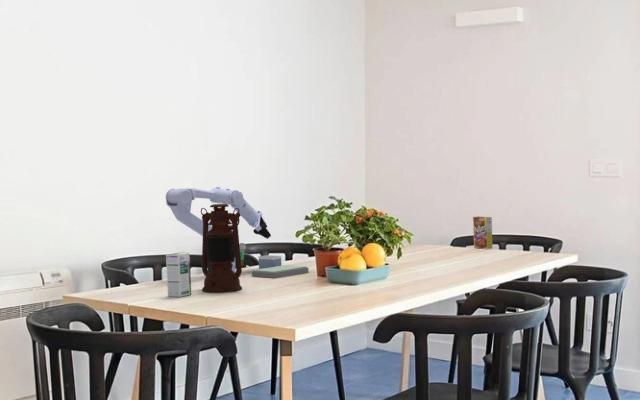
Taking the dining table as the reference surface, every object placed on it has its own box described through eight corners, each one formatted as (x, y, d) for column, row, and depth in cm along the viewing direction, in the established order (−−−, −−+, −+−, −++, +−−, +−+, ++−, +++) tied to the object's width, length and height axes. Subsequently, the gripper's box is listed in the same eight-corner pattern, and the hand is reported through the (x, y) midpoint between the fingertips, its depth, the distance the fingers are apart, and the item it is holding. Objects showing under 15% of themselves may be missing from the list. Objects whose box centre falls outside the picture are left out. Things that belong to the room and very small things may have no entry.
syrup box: (180, 297, 299) (179, 253, 298) (167, 296, 302) (165, 253, 301) (191, 295, 304) (190, 252, 303) (178, 294, 307) (176, 251, 306)
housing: (273, 272, 363) (272, 257, 363) (258, 271, 368) (258, 256, 368) (281, 270, 367) (281, 256, 367) (267, 269, 372) (266, 255, 372)
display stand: (274, 278, 342) (274, 271, 341) (251, 276, 349) (251, 270, 349) (308, 272, 357) (308, 266, 357) (286, 270, 365) (286, 264, 364)
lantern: (190, 291, 312) (187, 205, 311) (215, 286, 324) (212, 203, 323) (229, 293, 303) (227, 205, 302) (254, 288, 315) (251, 203, 314)
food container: (233, 269, 374) (232, 245, 374) (222, 269, 378) (221, 245, 378) (252, 266, 384) (251, 243, 384) (241, 265, 388) (241, 242, 388)
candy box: (473, 248, 436) (472, 216, 436) (479, 247, 439) (478, 216, 438) (486, 249, 429) (485, 217, 429) (492, 248, 432) (492, 216, 431)
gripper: (257, 214, 357) (278, 235, 364) (251, 197, 369) (271, 217, 376) (244, 225, 357) (265, 245, 364) (238, 207, 370) (258, 228, 377)
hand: (267, 232), depth 370 cm, fingers open, 7 cm apart
